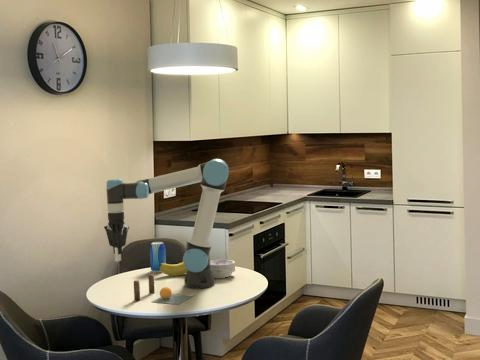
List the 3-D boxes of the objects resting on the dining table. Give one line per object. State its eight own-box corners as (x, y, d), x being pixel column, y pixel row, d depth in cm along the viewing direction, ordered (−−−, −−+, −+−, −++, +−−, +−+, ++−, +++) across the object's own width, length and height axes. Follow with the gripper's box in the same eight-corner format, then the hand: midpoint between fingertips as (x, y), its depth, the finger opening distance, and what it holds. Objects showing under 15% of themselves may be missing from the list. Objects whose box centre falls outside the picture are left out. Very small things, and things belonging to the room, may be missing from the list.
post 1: (141, 299, 278) (140, 280, 277) (138, 301, 275) (137, 282, 275) (136, 299, 279) (135, 280, 278) (133, 300, 276) (132, 281, 276)
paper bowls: (227, 271, 328) (227, 257, 327) (240, 277, 314) (240, 262, 314) (202, 275, 321) (201, 261, 320) (214, 281, 307) (213, 266, 307)
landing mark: (193, 296, 280) (193, 296, 280) (178, 304, 268) (178, 304, 268) (167, 294, 286) (167, 293, 286) (151, 302, 273) (151, 301, 273)
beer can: (163, 273, 329) (162, 244, 328) (148, 273, 331) (147, 244, 330) (168, 269, 337) (166, 241, 336) (153, 269, 339) (152, 241, 338)
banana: (160, 278, 318) (158, 240, 317) (158, 275, 324) (156, 239, 322) (201, 274, 324) (200, 237, 323) (199, 271, 330) (198, 235, 328)
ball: (166, 283, 280) (161, 292, 282) (160, 286, 275) (155, 295, 277) (175, 290, 278) (170, 299, 280) (169, 293, 273) (164, 302, 275)
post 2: (155, 292, 289) (154, 274, 288) (152, 294, 287) (151, 275, 286) (151, 292, 290) (150, 274, 290) (148, 293, 288) (147, 275, 287)
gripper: (131, 211, 286) (134, 259, 288) (109, 210, 291) (111, 258, 293) (122, 213, 279) (125, 263, 281) (99, 212, 284) (102, 261, 286)
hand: (118, 260), depth 287 cm, fingers closed
